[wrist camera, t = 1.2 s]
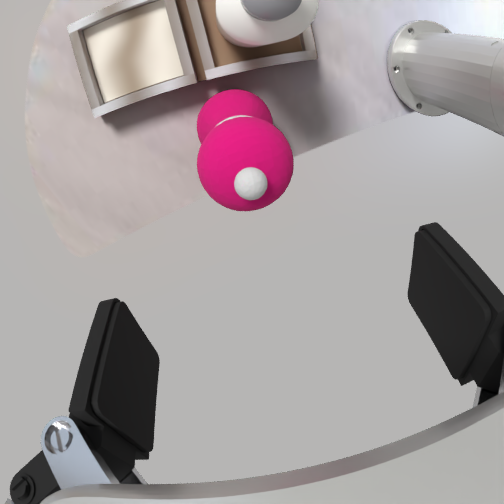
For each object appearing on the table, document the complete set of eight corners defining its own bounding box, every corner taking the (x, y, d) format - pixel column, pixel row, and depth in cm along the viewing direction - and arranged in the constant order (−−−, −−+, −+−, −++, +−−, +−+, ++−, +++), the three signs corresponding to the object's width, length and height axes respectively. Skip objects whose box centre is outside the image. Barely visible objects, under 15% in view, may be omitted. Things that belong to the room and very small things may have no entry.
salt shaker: (275, -15, 23) (313, -55, 12) (288, 41, 27) (335, 34, 16) (209, -4, 24) (205, -42, 12) (223, 54, 27) (229, 50, 16)
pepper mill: (271, 140, 35) (326, 232, 18) (208, 155, 35) (204, 261, 18) (258, 79, 31) (311, 108, 14) (191, 95, 31) (162, 142, 14)
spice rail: (293, -32, 23) (300, -39, 21) (313, 58, 29) (322, 58, 27) (74, 29, 24) (62, 28, 22) (99, 114, 30) (90, 119, 28)
